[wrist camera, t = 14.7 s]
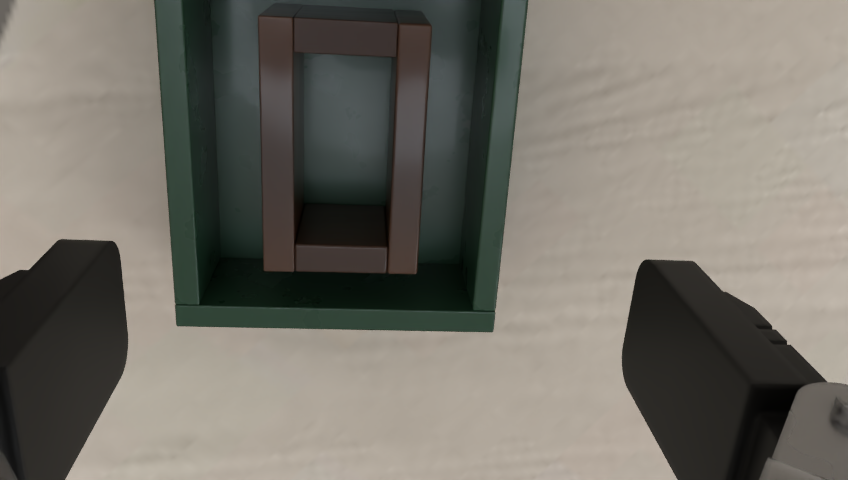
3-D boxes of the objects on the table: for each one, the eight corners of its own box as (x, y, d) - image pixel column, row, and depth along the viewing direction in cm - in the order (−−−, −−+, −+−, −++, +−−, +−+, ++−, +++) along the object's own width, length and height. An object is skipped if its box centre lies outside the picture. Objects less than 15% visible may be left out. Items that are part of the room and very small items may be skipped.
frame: (273, 3, 25) (257, 14, 22) (423, 10, 26) (432, 24, 22) (276, 227, 28) (263, 271, 25) (411, 230, 29) (417, 275, 25)
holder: (186, -69, 25) (148, -69, 21) (506, -48, 26) (533, -44, 22) (203, 269, 29) (176, 326, 25) (475, 276, 30) (493, 332, 26)
